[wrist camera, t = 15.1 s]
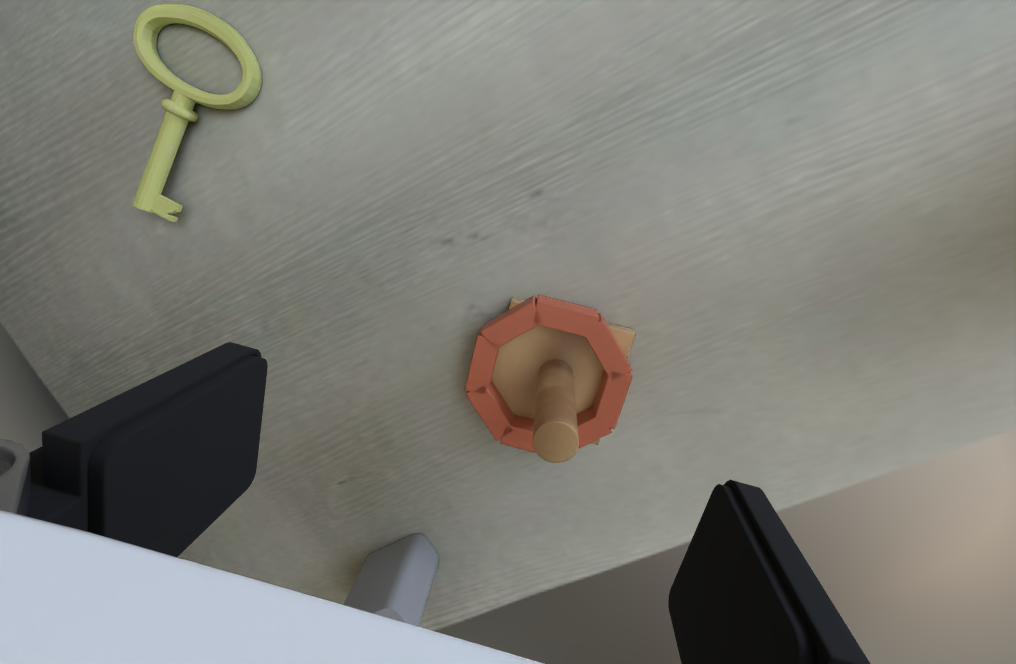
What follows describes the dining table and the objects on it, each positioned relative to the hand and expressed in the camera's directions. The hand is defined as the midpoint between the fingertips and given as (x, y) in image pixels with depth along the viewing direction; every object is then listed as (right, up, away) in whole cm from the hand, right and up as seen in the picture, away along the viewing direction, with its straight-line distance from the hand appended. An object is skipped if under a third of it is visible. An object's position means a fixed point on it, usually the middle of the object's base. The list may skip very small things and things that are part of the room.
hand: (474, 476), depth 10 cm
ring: (+3, 0, +23) cm, 23 cm away
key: (-19, +16, +22) cm, 33 cm away
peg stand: (+4, 0, +24) cm, 24 cm away
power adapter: (-7, -14, +29) cm, 33 cm away
